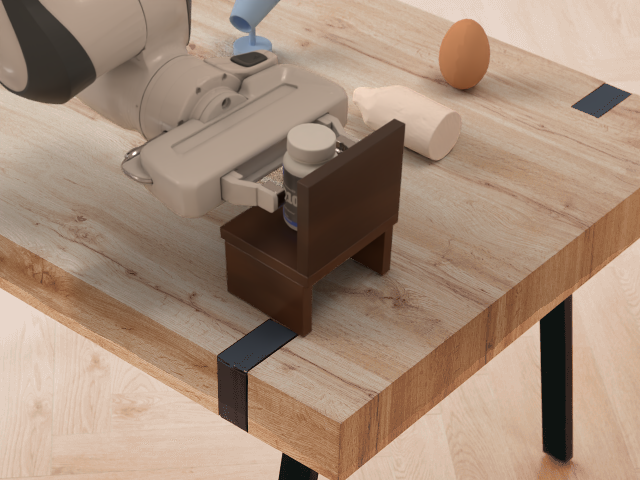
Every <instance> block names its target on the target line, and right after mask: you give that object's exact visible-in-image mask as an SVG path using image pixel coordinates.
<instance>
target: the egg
mask: <svg viewBox="0 0 640 480" xmlns="http://www.w3.org/2000/svg"><path fill="white" fill-rule="evenodd" d="M438 51H439V52H438V67H439V71H440V73H441V76H442V77H443V79H444V80H445V81H446V83H447V84H448V85H449V86H451V87H453V89H457V90H468V89H471V88H474V86H476V85H477V84H479V83H480V82H481V81H482V80H483V78H484V77H485V75H486V73H487V71H488V70H489V67H490V61H491V46H490V42H489V39H488V36H487V34H486V31H485V28H483V26H482V25H481V24H480V23H479V22H477V21H476V20H474V19H473V18H462V19H459V20H457V21H456V22H454V23H453V24H452V25H451V26H450V27H449V29H448V30H447V31H446V33H445V35H444V36H443V38H442V40H441V43H440V46H439V50H438Z"/></svg>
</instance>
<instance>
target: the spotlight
mask: <svg viewBox="0 0 640 480" xmlns="http://www.w3.org/2000/svg"><path fill="white" fill-rule="evenodd" d="M280 2H281V0H235V1H234V4H233V7H232V9H231V13H230V15H229V18H228V19H229V22H230V24H231V26H232V27H233V28H235V29H236V30H238V31H240V32H241V33H244V34H248V35H244V36H240V37H238V38H237V39H235V40H234V42H233V44H232V46H233V47H232V48H233V56H234V55H239V54H244V53H248V52H252V51H255V50H261V49H263V50H268V51H270V52H272V53H273V43H272V42H271V40H270V39H268V38H267V37H265V36H261V35H256V27H257V26H258V25H259V24H261V22H262V21H263V20H264V19H265V18H266V17H267V16H268V15H269V14H270V13H271V11H272V10H273V9H274V8H275V7H276V6H277V5H278V4H279V3H280Z"/></svg>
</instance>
